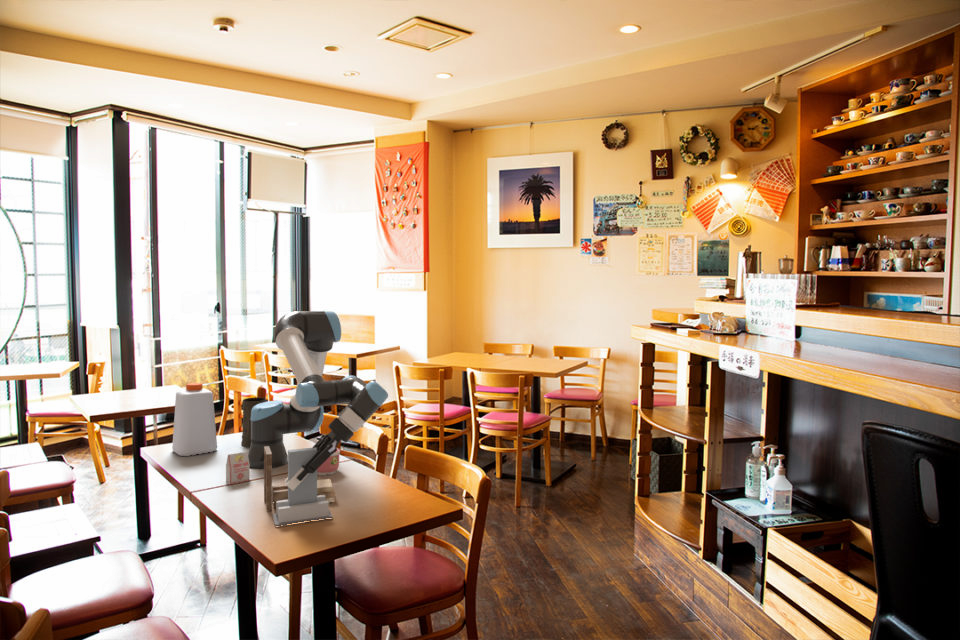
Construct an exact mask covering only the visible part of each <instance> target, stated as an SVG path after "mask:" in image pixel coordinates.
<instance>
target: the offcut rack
mask: <svg viewBox="0 0 960 640" xmlns="http://www.w3.org/2000/svg"><path fill="white" fill-rule="evenodd" d="M263 480H264V481H263V501H264V503H266V504H265V507H266V508H265V509H266V510H272V511H273V509H276V508H275V507H276V501H281V500H288V486H286V484H280V485H279V484H278V485H273V467H272V453H271V450H270V448H269V446H265V447H264V468H263ZM319 495H325V501H328V502H334V503H335V497H336V490H334V489H333V484H332V480H331V478H325V479H324V478H323V479H317V496H319ZM273 502H274V503H273Z"/></svg>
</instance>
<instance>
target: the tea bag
mask: <svg viewBox="0 0 960 640" xmlns="http://www.w3.org/2000/svg"><path fill="white" fill-rule="evenodd" d="M248 453H249V451H243V452H242V451H241V452H236V453H230V454H227V458H226V463H225V482H226V483H227V484H228V483H229V484H228V485H234V483H235V484H240V483H244V481H245V482H248V481H250V477H251V476H250V475H251V473H250V470H251V469H250V468H251V467H250V463H249V458H248ZM239 482H240V483H239Z"/></svg>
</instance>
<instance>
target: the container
mask: <svg viewBox="0 0 960 640" xmlns="http://www.w3.org/2000/svg"><path fill="white" fill-rule="evenodd" d="M336 448H337V451H336V452H334V453H333V454H332V455H331V456H330V457H329V458H328V459H327V460H326V461H325V462H324V463H323V464H322V465H321V466H320V467H319V468H318V469H317V474H319V475H318V476H327V475H326V474H331V475H333V474H332V473H334V472H335V473H337V470H338V469H339V466H340V453H341V449H340V448H338V447H336ZM335 473H334V474H335Z"/></svg>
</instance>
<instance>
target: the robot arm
mask: <svg viewBox="0 0 960 640" xmlns="http://www.w3.org/2000/svg"><path fill="white" fill-rule="evenodd" d="M341 338H342V326H341V320H340V318H339V316H338V315H337V313H335V312H334V311H330V310H329V311H328V310H323V311H321V310H320V311H319V310H308V311H307V310H304V311H303V310H300V311H299V310H297V311H296V310H295V311H290V312H288V313H286V314H284V315H282V317H280V319H279V320H278V321H277V322H276V324H275V326H274V330H273V340H274V342H275V345H276V346H277V348H278V349H279V350H281V351H282V352H283V354H284V356H285V358H286V361H287V363H288V365H289V367H290V370H291V371H292V373H293V375H294V378H295V379H296V382H297V385H296V389H295V394H293V396H291V398H290V400H289V403H284V402H283V401H282V400H271V401H270V400H269V401H266V402H263V403H260V404H257V405H255V406H254V407H253V408H252V410H251V418H250V420H251V446H250V447H249V450H248V458H249V463H250V468H252V469H253V468H255V469H264V447H265V446H269V448H270V450H271V453H272V468H276V467H280V466H281V467H282V466H283V465H285V464H288V452H287V449H286V447H285V444H284V435H288V434H295V433H304V432H307V433H308V432H309V433H310V432H312V431H316V430H319V428H320V427H321V426H322V423H324V422H323V421H324V417H325V415H324V413H325V410H324V407H325V406H334V405H335V406H336V405H344V404H347V405H346V406H345V407H344V408H343V409H342V410H341V411H340V412H339V413H338V414H337V416H338V417H335V418H334V419H333V420H332V421H331V422H330V423H329V424H328V428H329V429H330V430H331V431H330V432H328V433H327V434H322V435H321V436H320V438H319V439H318V441H317V442H316V443H315V444H314V445H313V446H312V447H311V448H315V447H316V448H317V453H316V454H315V455H314V456H313V457H312V458H311V459H310V461H309V462H308V463H307V464H306V465H305V466H304V465H302V468H301V469H300V470H299V471H298V472H297V473H296V474H295V475H294V476H293V477H292V478H291V479H290V480H289V482H288V477H287V478H285V480H284V483H285V485H286V486H288V487H289V488H290V489H291V490H294V489H295V488H296V487H297V486H298V485H299V484H300V483H301V482H302V481H303V480H304V479H305V477H306V476H307V475H308V474H309V473H312V474H313V473H314V472H315V471H316V470H317V469H318V468H319V467H320V466H321V465H322V464H323V463H324V462H325V461H326V460H327V459H328V458H329V457H330V456H331V455H332V454H333V453H334V452H336V451H337V448H338V446H339V445H338V444H339V443H341V441H342V442H344V443H347V442H348V441H350V440H351V438H352V437H353V436H354V435H355V433H354V432H358V431H359V430H360V429H361V428H363V427H364V425H365V423H366V422H367V421H368V420H369V419H370V418H371V417H372V416H373V415H374V414H375V413H376V412H377V411H378V410H379V408H380V407H382V406H383V404H384V403H385V401H386V400H387V399H388V398H389V393H388V392H387V390H386V389H384V387H382V386H381V385H380V384H379V383H378V382H377V381H376V380H370V381H369V382H368V383H366V382H365V381H364V380H363V379H361V378H360V377H357V376H356V375H351V374H350V375H347V376H345V377H343V378H342V379H337V380H325V379H324V378H323V374H324V369H325V365H326V361H327V355H328V352H330V351H331V350H332V349H333V345H334V343H338V342H340V340H341Z"/></svg>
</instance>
